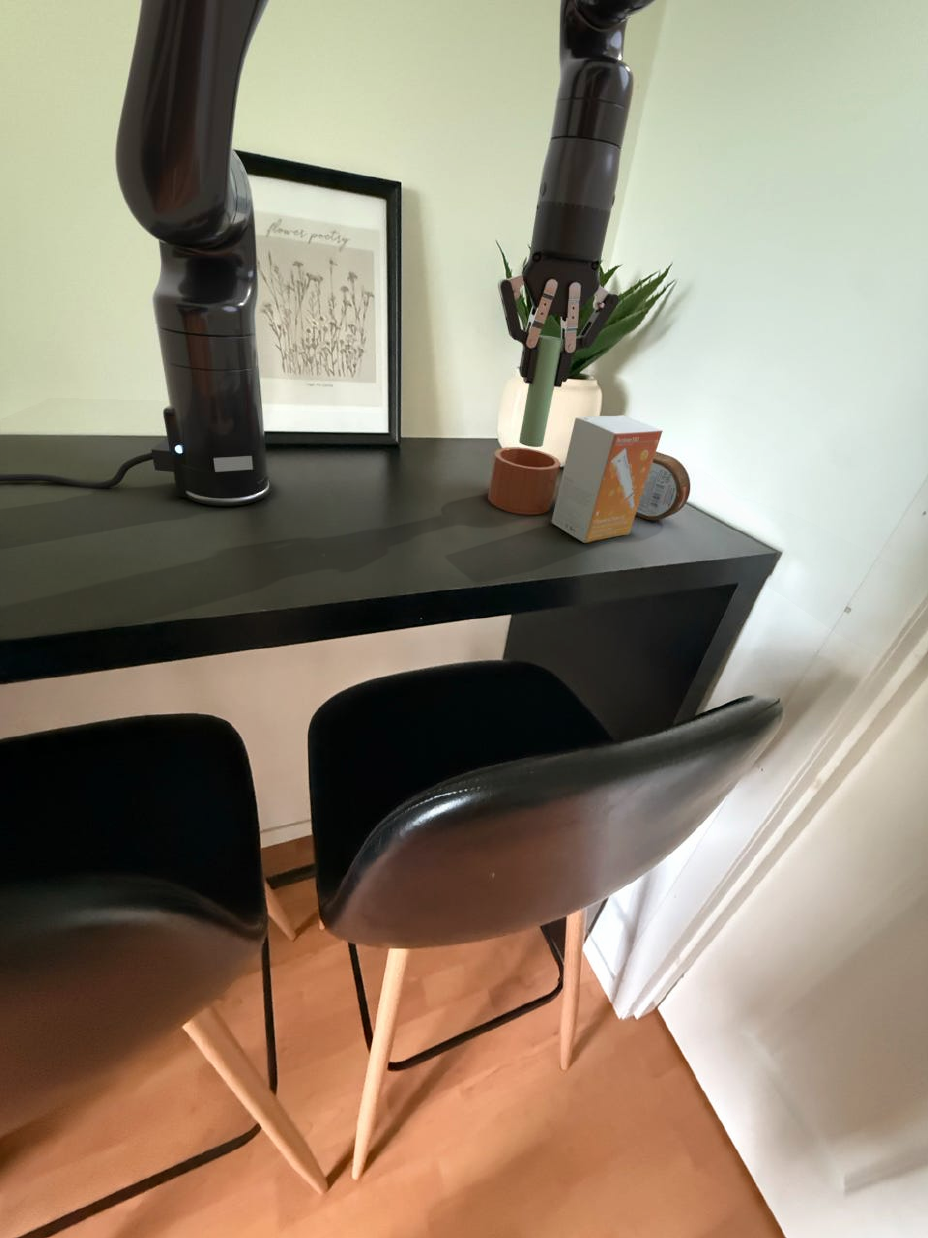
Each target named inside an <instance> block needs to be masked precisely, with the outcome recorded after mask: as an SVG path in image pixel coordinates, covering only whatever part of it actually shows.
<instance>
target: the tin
mask: <svg viewBox="0 0 928 1238" xmlns="http://www.w3.org/2000/svg"><path fill="white" fill-rule="evenodd" d="M689 475H690V474H689V473H688V471H687V469H686V468H685V466H684V465H683V463H682V462H681V461H680V460H678V459H677V458H675V457H673V456H671V455H668V454H665V453H662V452H659V451H657V450H656V453H655V456H654V459H653V462H652V465H651V468H650V471H649V475H648V478H647V481H646V484H645V487H644V490H643V493H642V496H641V499H640V502H639V505H638V508H637V512H636V514H635V517H639V518H641V519H644V520H647V521H660V520H664V519H666V518H669V517H671V516H672V515H676V514H677V513H678V512H680V510H682V509H683V508H684V506H685V505H686V504H687V502H688V499H689V498H690V493H691V479H690V476H689Z"/></svg>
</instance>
